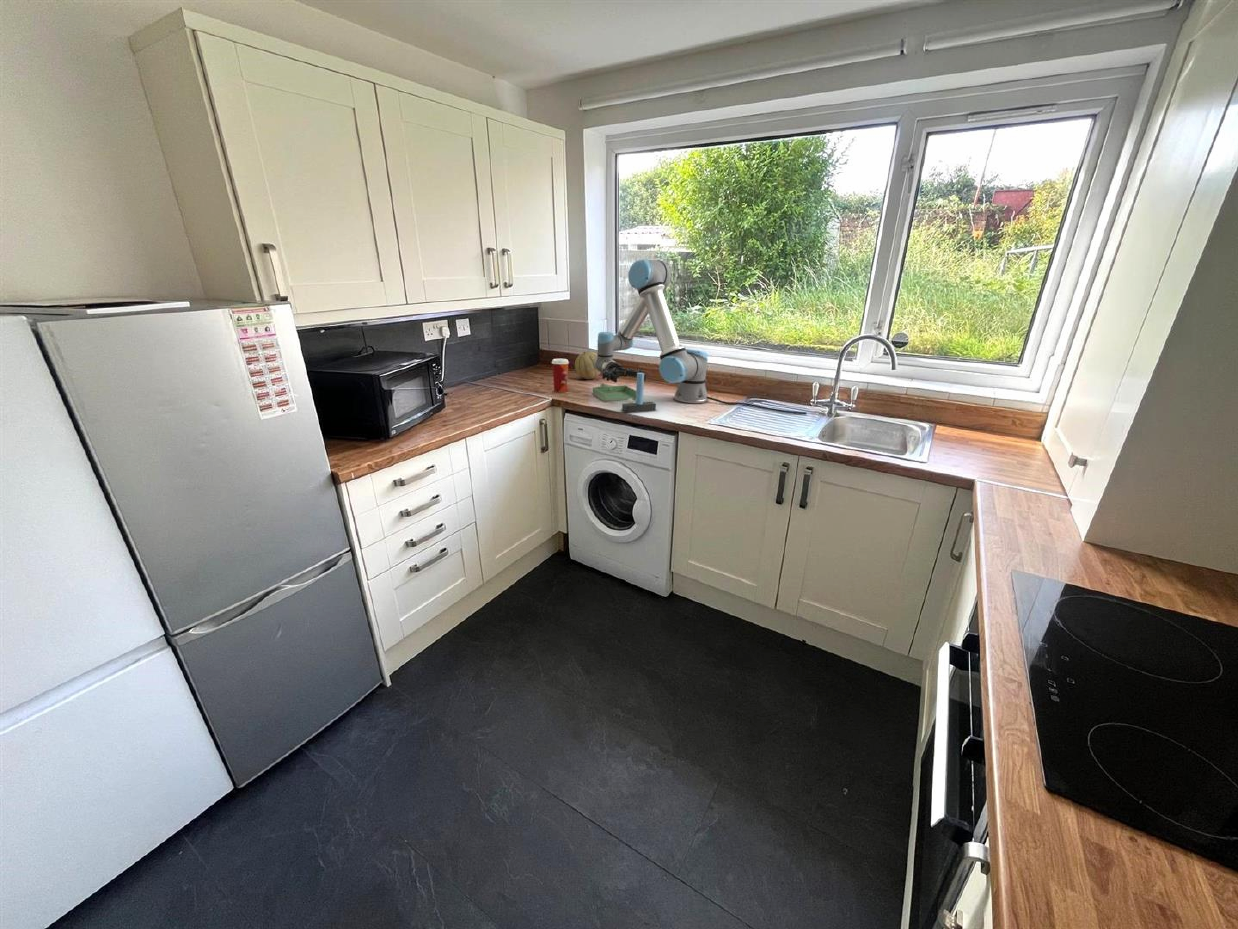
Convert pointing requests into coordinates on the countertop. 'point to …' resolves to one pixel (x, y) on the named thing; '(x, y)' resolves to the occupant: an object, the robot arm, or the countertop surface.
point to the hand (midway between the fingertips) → (630, 378)
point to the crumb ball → (630, 400)
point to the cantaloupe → (586, 365)
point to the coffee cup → (560, 374)
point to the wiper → (639, 399)
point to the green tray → (614, 392)
